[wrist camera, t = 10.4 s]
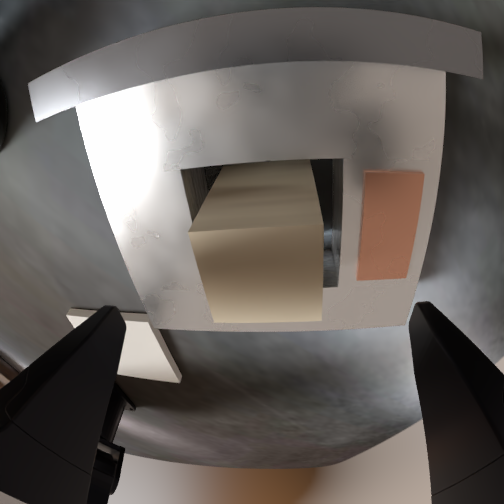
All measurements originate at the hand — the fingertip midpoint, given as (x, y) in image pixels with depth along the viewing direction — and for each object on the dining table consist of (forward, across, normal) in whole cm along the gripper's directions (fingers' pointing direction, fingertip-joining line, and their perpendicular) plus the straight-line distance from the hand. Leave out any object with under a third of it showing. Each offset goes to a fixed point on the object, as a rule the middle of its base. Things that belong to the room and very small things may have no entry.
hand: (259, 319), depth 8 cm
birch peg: (+8, 0, 0) cm, 8 cm away
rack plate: (+8, 0, -1) cm, 8 cm away
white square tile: (+8, +13, +12) cm, 19 cm away
